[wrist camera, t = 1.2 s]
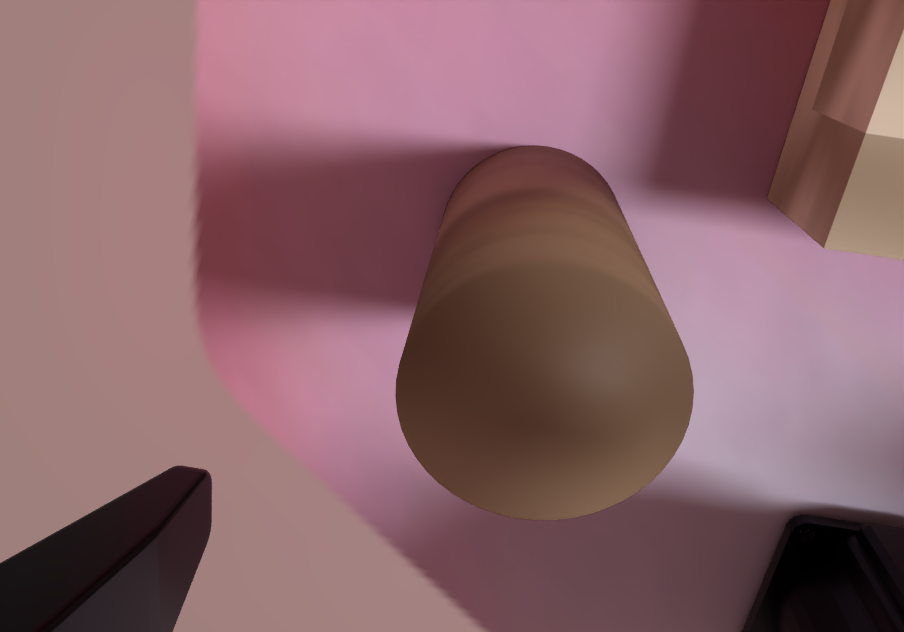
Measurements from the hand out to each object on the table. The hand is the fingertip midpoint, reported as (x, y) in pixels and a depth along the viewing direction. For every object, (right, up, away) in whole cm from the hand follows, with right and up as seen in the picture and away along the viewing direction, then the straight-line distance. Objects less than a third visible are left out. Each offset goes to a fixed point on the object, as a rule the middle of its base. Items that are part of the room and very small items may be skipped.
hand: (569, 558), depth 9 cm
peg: (+1, +5, +12) cm, 13 cm away
